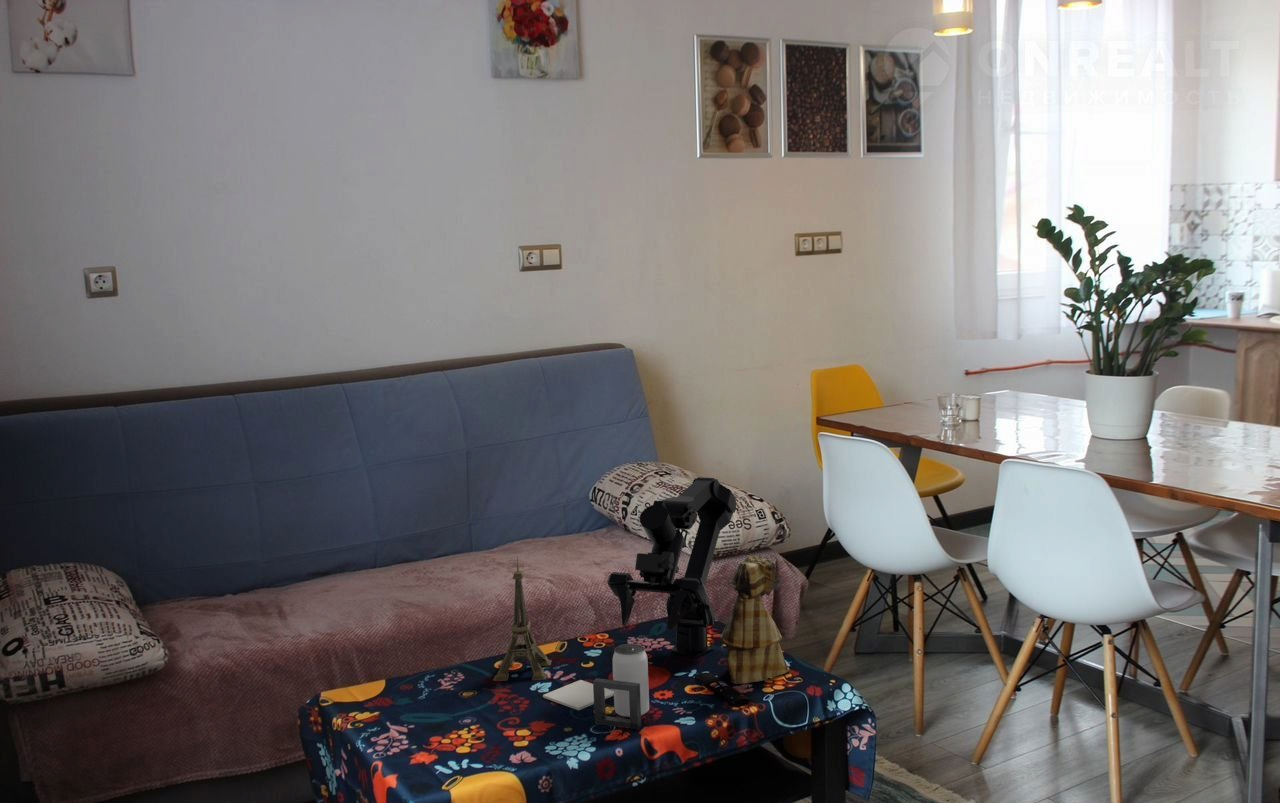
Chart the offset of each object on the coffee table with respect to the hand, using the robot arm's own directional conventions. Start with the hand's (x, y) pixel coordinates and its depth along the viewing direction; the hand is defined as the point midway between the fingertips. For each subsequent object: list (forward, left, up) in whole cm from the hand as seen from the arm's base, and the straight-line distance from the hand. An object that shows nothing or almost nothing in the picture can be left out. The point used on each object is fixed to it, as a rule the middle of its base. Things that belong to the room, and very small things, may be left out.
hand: (646, 627), depth 218 cm
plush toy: (-21, +8, -14) cm, 26 cm away
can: (+8, +3, -14) cm, 16 cm away
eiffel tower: (+7, -29, -14) cm, 33 cm away
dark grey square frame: (+14, +5, -13) cm, 20 cm away
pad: (+9, -10, -13) cm, 19 cm away
